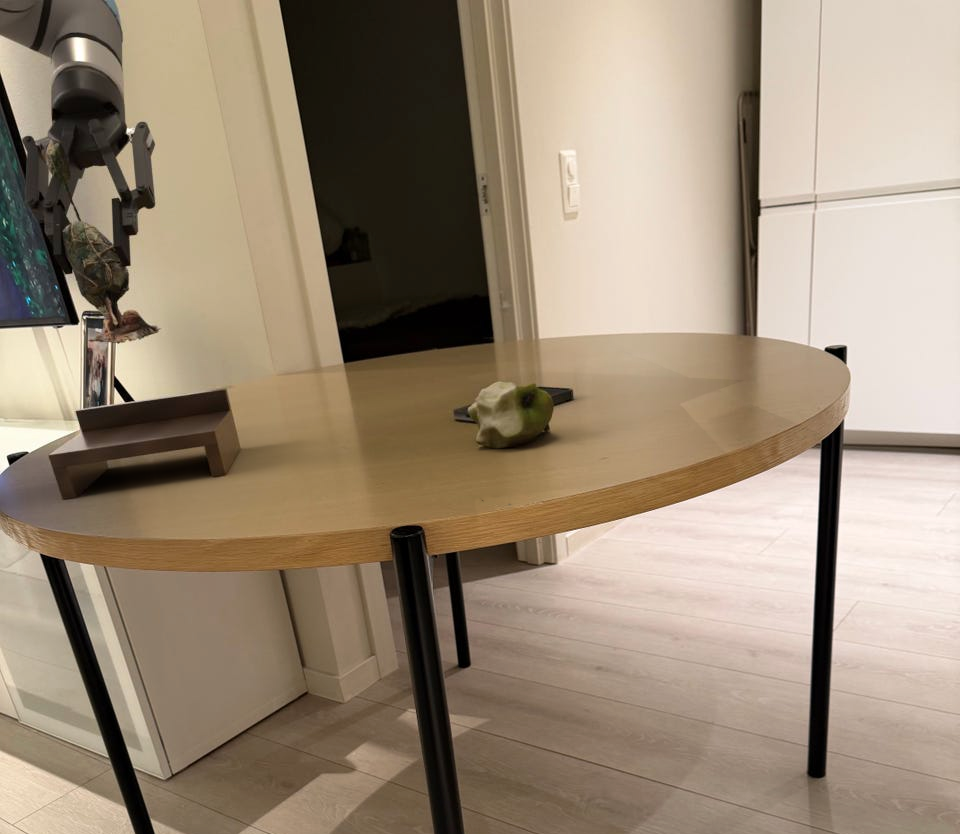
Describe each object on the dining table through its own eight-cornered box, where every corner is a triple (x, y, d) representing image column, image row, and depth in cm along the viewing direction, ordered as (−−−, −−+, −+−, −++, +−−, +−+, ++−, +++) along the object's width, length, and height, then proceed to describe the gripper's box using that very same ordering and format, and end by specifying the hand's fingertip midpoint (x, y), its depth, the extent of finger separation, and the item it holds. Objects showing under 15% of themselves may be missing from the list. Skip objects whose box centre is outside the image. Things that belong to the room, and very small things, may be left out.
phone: (576, 388, 114) (490, 414, 106) (577, 397, 115) (491, 423, 106) (533, 386, 120) (448, 410, 111) (534, 394, 120) (450, 419, 112)
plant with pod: (69, 352, 93) (0, 135, 84) (105, 339, 103) (47, 144, 95) (146, 342, 93) (84, 123, 84) (174, 329, 103) (122, 133, 94)
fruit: (563, 456, 94) (550, 384, 89) (476, 474, 95) (460, 403, 90) (555, 422, 101) (543, 353, 96) (475, 438, 102) (460, 371, 97)
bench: (62, 499, 98) (40, 432, 95) (96, 469, 111) (77, 409, 108) (225, 475, 99) (208, 407, 96) (240, 448, 112) (226, 388, 109)
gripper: (181, 117, 103) (193, 275, 95) (21, 137, 102) (20, 298, 94) (159, 55, 96) (170, 219, 88) (-13, 76, 95) (-18, 244, 87)
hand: (92, 260), depth 91 cm, fingers closed on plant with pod, 5 cm apart
